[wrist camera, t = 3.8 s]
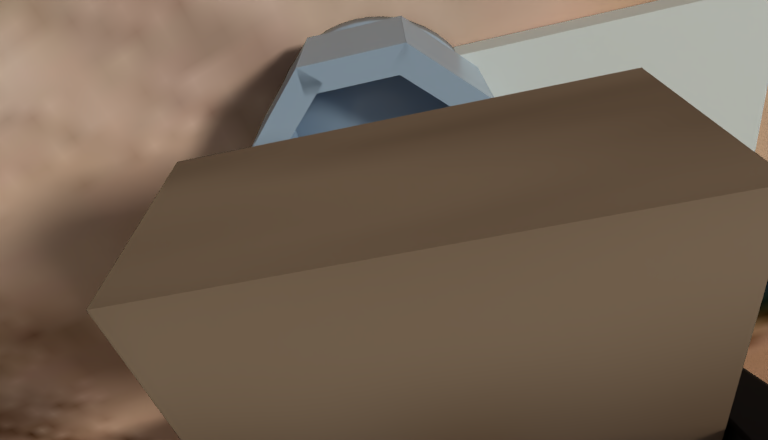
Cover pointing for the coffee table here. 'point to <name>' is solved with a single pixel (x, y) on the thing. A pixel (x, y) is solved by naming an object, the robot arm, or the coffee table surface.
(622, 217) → the lid
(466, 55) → the mat
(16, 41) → the coffee table surface
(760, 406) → the robot arm
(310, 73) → the bowl
